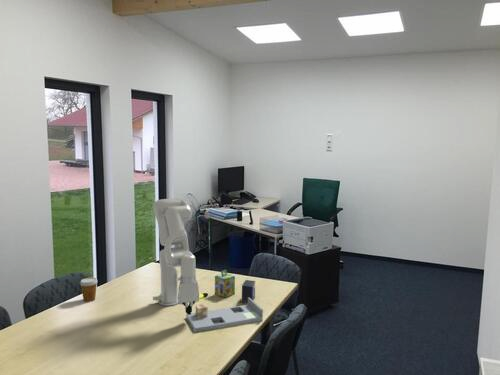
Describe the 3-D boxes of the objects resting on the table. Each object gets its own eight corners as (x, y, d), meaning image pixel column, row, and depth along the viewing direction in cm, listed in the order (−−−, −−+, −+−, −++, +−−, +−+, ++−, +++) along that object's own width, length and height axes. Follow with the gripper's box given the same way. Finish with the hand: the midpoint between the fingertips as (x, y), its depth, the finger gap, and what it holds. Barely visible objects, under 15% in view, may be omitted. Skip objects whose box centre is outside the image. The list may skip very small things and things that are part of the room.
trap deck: (195, 332, 193) (195, 320, 193) (186, 317, 210) (186, 306, 209) (262, 320, 207) (262, 309, 207) (249, 307, 224) (249, 297, 223)
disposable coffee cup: (101, 297, 238) (100, 277, 236) (93, 303, 228) (92, 283, 227) (85, 296, 238) (85, 277, 237) (77, 302, 229) (76, 282, 228)
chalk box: (225, 298, 238) (225, 274, 237) (214, 294, 244) (214, 271, 242) (235, 294, 245) (235, 270, 244) (224, 290, 251) (224, 267, 249)
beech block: (198, 317, 205) (198, 308, 205) (195, 314, 210) (195, 305, 209) (207, 316, 207) (207, 307, 206) (204, 312, 212) (204, 303, 211)
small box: (252, 304, 230) (252, 286, 229) (241, 303, 231) (241, 285, 230) (255, 297, 240) (255, 280, 239) (245, 296, 241) (245, 279, 240)
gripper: (175, 282, 197) (175, 318, 199) (204, 279, 203) (204, 314, 204) (172, 278, 204) (172, 313, 206) (200, 275, 210) (200, 309, 211)
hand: (188, 313), depth 205 cm, fingers closed
